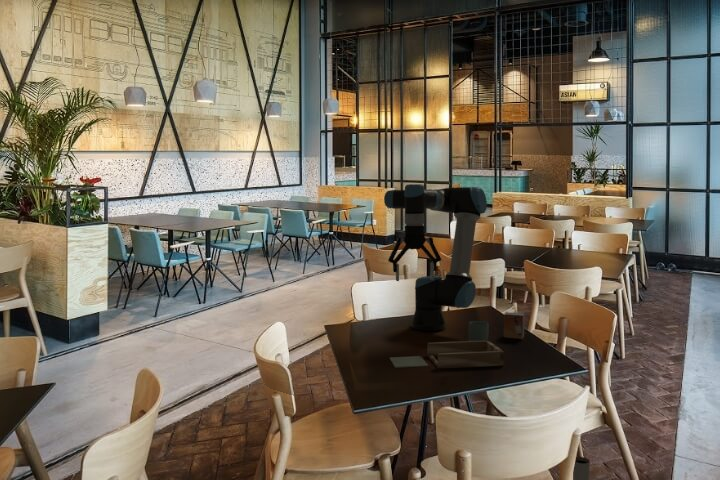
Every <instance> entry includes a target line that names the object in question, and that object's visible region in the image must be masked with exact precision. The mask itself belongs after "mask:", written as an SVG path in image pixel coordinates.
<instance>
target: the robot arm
mask: <svg viewBox="0 0 720 480" xmlns="http://www.w3.org/2000/svg"><path fill="white" fill-rule="evenodd" d="M486 196H487V195H486V193H485V191H484V189H482V188H481V187H478V186H477V187H475V186H468V187H465V186H463V187H446V188H439V189H437V188H436V189H432V188H429V189H428V188H427V189H425V186H424V184H419V183H418V184H417V183H415V184H406V185H405V186H404V189H393V190H392V189H389V190H387V191H386V192H385V194H384V196H383V197H384V198H383V201H384V206H385V207H386V208H387V209H393V210H394V209H396V210H397V209H404V224H405V226H404V238H402V237H397V238H396V242H395V245H394V247H393V249H392V251H391V253H390V256H388V257H389V258H388V259H387V261H388V263H392V272H393V273H395V281H397V282H400V264H399V263H398V262H399V261H400V260H401V259H402V258H403V257H404V255H405V253H407V251H408V250H422V251H423V252H424V253H425V254H426V256H427V257H428V258H429V259H430V261H431V262H430V265H429V266H430V268H429V269H430V270H429V271H430V275H428V276H421V277H418V278H417V279H416V280H415V282H414V283H415V287H414V291H415V292H414V294H415V296H414V297H415V298H414V299H415V303H414V304H415V311H414V314H413V317H412V321H411V329H413V330H417V331H424V332H425V331H427V332H428V331H429V332H431V331H432V332H433V331H434V332H435V331H441V330H444V329H446V321H445V320H446V319H445V317H444V314H443V311H442V307H450V308H457V309H460V308H462V309H467V308H469V307H470V306H471V305H472V304H473V302H474V300H475V297H476V292H477V289H476V287H477V286H476V284H475V282H473V277H472V276H471V274H470V271H471V262H472V255H473V249H474V247H473V246H474V240H475V234H476V233H475V232H476V224H477V222H478V221H479V220H480V219H481V215H483V214H484V213H486V211H487V207H488V205H487V203H488V201H487V197H486ZM426 209H428V210H430V211H432V212H433V211H434V212H441V213H450V214H453V216H454V218H455V219H456V222H455V229H454V237H453V246H452V252H451V258H450V267H449V272H447V273H446V274H445V277H444V278H443V277H442V276H441V275H437V274H436V275H435V272H437V268H438V267H437V263H438V262H441V261H442V257H441V256H440V255H441V254H440V253H439V251H438V249H437V248H436V246H435V243H434V238H433V237H431V236H428V237H426V236H425V228H426V227H425V225H424V224H425V210H426ZM403 242H404V244H405V245H404V246H403V248H402V250H401V251H400V252H398V250H399V249H400V246H401V244H403ZM426 242H427V244H429V246H430V249H431V251H432V252H433V255H434V256H433V255H432V253H431V252H430V251H429V250H428V249H427V247H426V246H425V243H426ZM397 253H398V254H397ZM396 254H397V255H396ZM395 256H396V257H395Z"/></svg>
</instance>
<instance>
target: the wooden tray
mask: <svg viewBox="0 0 720 480" xmlns="http://www.w3.org/2000/svg"><path fill="white" fill-rule="evenodd" d="M426 345H427V348H426V349H427V350H426V351H427V352H426V354H427V355H426V356H427V357H428V358H429V359H430V360H431V361H432V363H433V364H434V366H436V367H437V369H457V368H458V369H459V368H460V369H461V368H475V367H476V368H477V367H481V368H482V367H496V366H497V367H498V366H499V367H500V366H502V367H503V366H505V351H504V350H502V349H501V348H500V347H498V346H497V345H496V344H494V343H492V342H491V341H490V340H489V339H488V340H482V341H469V340H465V341H464V340H463V341H461V340H460V341H439V342H438V341H437V342H427V344H426ZM436 357H437V359H436Z"/></svg>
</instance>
